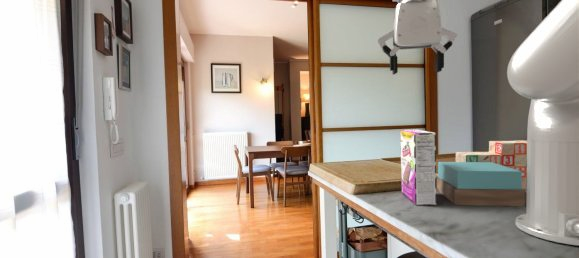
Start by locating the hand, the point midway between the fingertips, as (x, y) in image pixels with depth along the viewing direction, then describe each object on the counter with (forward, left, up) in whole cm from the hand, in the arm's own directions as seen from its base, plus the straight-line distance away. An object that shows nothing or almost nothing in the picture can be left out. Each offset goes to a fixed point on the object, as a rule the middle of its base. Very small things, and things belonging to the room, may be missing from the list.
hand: (416, 72), depth 73 cm
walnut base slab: (+3, -14, -31) cm, 34 cm away
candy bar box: (0, 0, -30) cm, 30 cm away
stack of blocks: (+15, -25, -31) cm, 42 cm away
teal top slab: (+3, -14, -27) cm, 30 cm away
